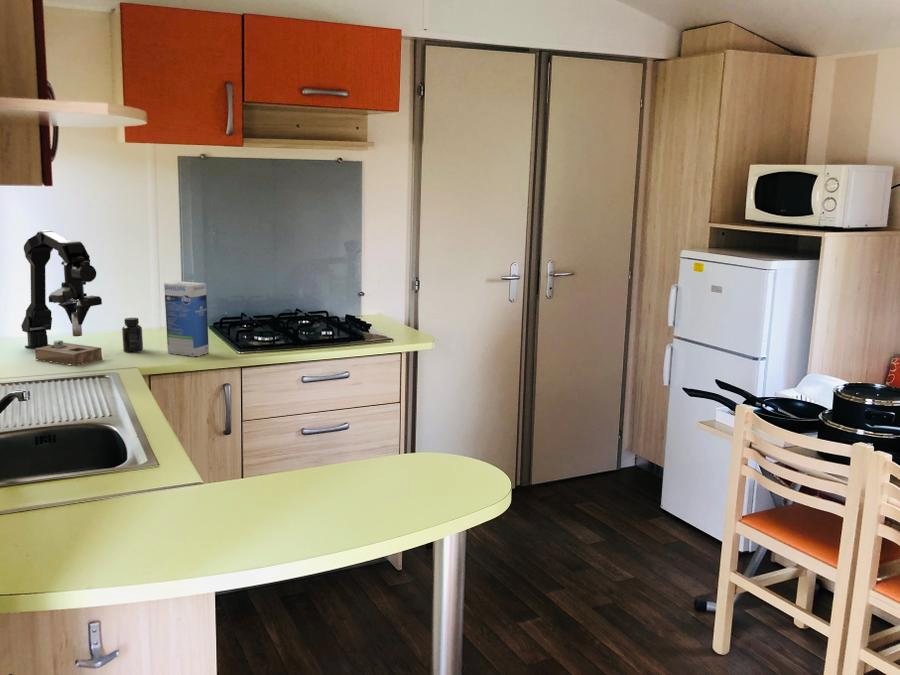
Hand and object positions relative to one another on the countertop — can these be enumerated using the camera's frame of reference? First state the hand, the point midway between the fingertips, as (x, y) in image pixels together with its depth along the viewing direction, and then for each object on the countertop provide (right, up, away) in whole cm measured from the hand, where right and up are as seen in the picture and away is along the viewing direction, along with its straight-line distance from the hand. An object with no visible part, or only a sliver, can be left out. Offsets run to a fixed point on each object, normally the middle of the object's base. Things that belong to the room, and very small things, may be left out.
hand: (76, 324), depth 295 cm
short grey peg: (-9, -12, +6) cm, 16 cm away
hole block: (-4, -12, +4) cm, 14 cm away
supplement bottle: (+12, -10, +20) cm, 25 cm away
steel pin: (0, -4, +1) cm, 4 cm away
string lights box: (+33, -11, +17) cm, 39 cm away
